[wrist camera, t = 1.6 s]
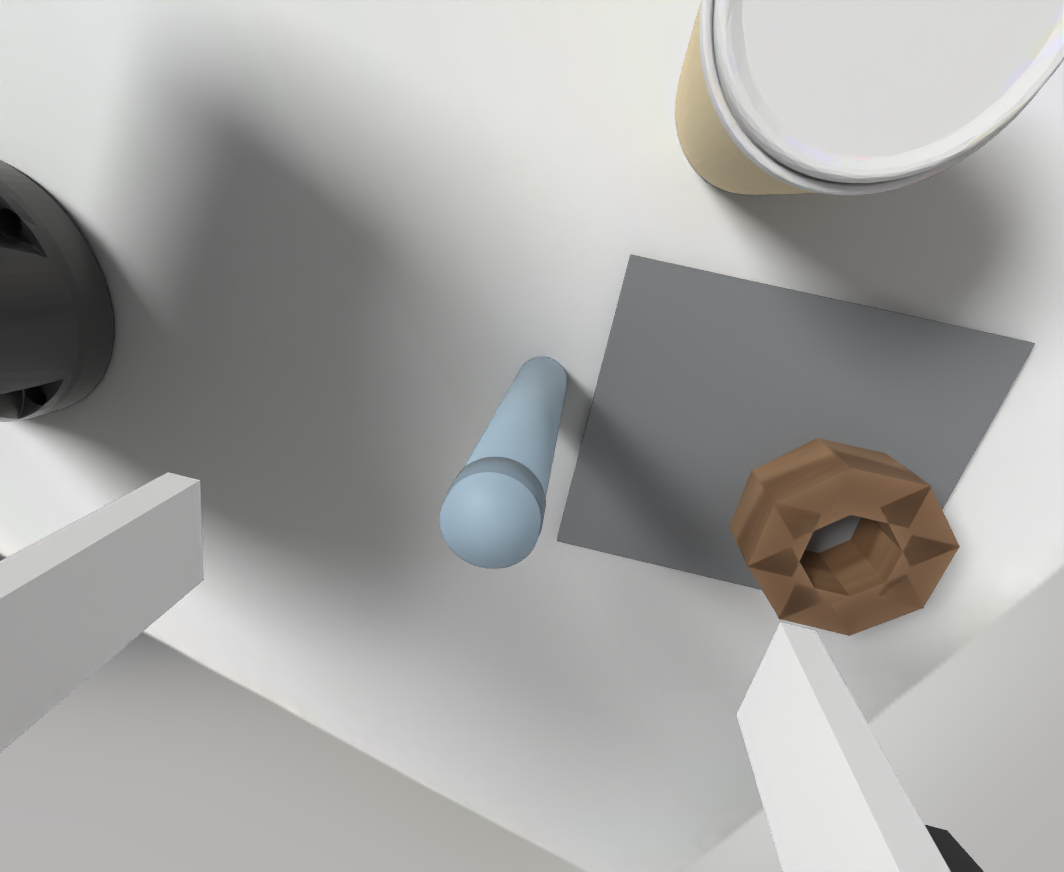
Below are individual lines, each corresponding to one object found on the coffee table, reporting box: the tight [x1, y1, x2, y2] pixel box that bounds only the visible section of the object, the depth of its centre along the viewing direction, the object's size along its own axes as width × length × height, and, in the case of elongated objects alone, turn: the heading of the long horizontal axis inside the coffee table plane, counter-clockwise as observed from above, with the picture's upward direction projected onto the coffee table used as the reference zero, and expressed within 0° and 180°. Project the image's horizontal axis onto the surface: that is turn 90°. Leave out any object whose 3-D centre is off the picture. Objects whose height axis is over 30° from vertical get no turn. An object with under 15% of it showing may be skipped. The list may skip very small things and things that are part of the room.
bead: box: [729, 438, 959, 636], centre depth 28 cm, size 9×9×4 cm
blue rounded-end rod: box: [440, 357, 567, 569], centre depth 22 cm, size 3×3×16 cm
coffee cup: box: [675, 0, 1064, 195], centre depth 18 cm, size 9×9×12 cm
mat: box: [557, 255, 1035, 590], centre depth 29 cm, size 20×17×1 cm
